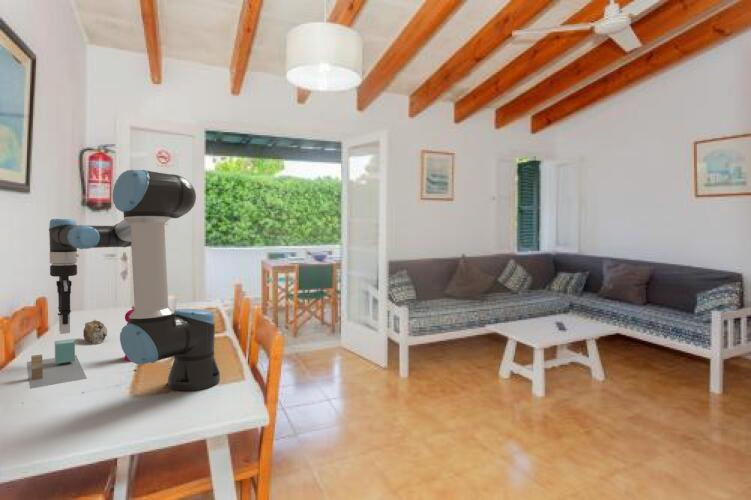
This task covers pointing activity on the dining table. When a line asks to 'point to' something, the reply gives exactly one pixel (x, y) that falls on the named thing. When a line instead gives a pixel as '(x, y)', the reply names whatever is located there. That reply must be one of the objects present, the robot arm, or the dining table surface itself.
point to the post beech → (36, 367)
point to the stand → (57, 373)
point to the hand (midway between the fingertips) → (64, 332)
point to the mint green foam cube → (64, 351)
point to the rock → (95, 332)
